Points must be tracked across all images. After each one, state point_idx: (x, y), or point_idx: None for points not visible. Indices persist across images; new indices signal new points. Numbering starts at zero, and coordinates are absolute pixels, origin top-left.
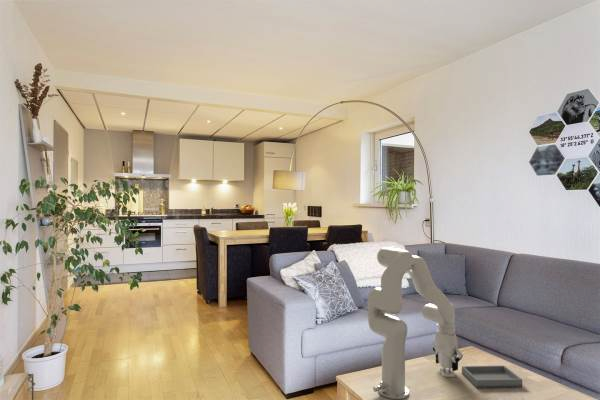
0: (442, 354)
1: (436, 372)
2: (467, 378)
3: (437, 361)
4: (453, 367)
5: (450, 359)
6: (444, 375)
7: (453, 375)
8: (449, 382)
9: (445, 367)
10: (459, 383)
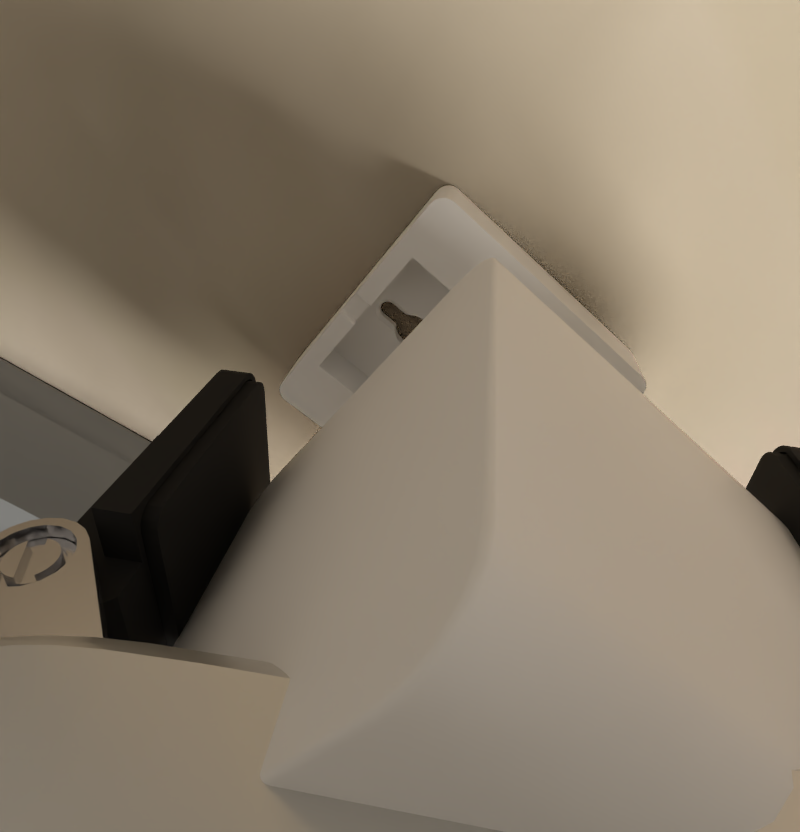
0: (406, 638)
1: (666, 244)
2: (120, 439)
3: (786, 495)
4: (183, 420)
5: (234, 608)
6: (419, 213)
7: (301, 356)
8: (155, 12)
9: (406, 338)
10: (49, 177)
